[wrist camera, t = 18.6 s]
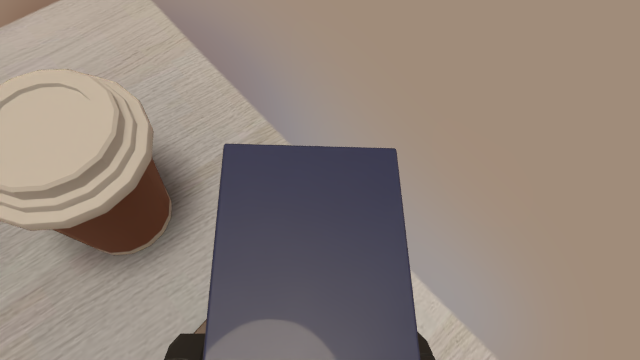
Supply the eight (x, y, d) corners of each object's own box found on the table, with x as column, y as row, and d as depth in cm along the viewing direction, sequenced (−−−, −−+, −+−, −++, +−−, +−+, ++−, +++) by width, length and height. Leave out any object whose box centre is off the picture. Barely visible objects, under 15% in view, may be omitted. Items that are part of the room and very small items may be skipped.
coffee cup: (39, 203, 30) (-100, 107, 19) (150, 139, 33) (86, 25, 22) (99, 301, 27) (-22, 255, 16) (214, 222, 30) (175, 139, 19)
